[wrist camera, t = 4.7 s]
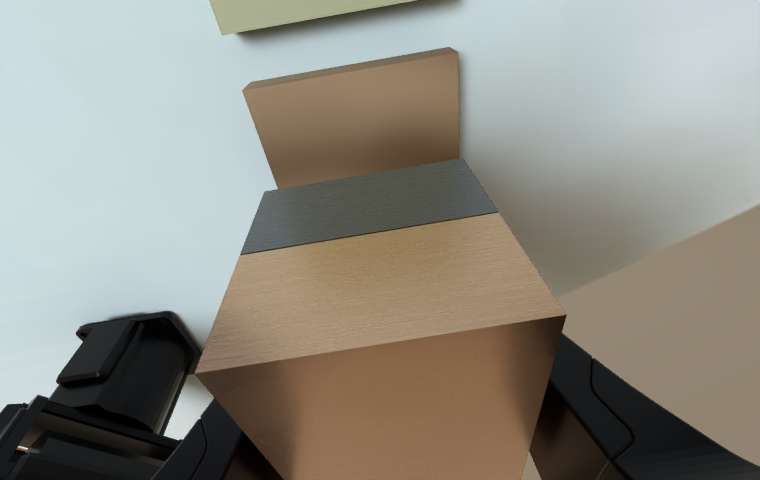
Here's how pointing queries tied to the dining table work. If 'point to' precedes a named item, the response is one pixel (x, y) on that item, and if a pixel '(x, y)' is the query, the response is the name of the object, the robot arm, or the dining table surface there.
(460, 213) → the base
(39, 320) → the dining table surface
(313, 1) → the stand
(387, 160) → the stand
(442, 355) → the cover
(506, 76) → the dining table surface
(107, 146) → the dining table surface
